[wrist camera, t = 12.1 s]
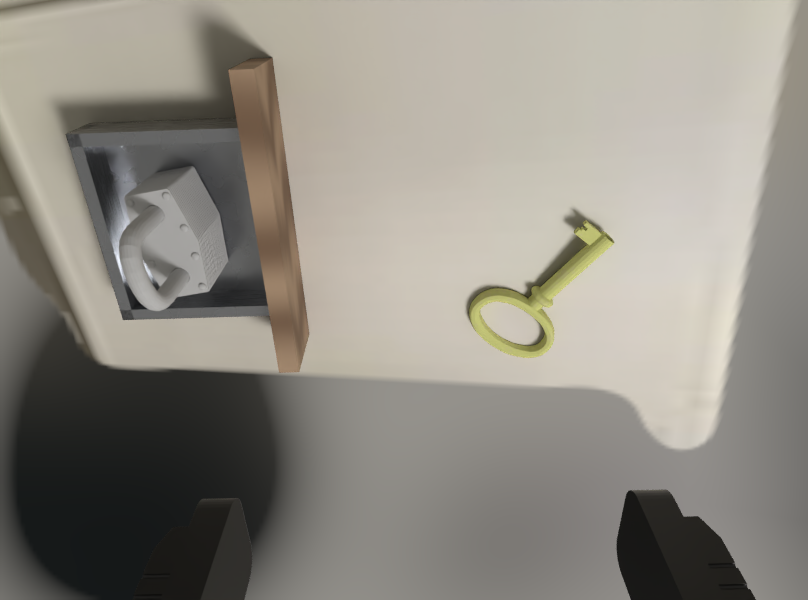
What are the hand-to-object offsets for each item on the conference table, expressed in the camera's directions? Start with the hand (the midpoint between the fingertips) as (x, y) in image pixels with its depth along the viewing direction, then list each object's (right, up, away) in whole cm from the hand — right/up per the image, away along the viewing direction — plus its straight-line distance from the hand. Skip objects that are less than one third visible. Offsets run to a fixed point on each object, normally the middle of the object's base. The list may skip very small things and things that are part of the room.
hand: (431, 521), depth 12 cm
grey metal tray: (-15, +10, +29) cm, 34 cm away
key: (+10, +5, +32) cm, 34 cm away
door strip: (-9, +11, +28) cm, 32 cm away
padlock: (-15, +10, +28) cm, 34 cm away
